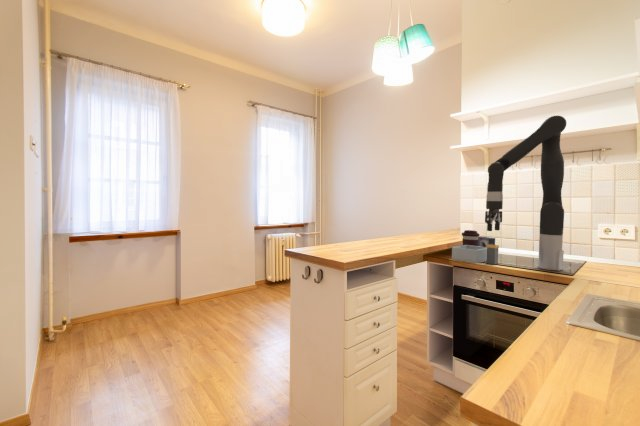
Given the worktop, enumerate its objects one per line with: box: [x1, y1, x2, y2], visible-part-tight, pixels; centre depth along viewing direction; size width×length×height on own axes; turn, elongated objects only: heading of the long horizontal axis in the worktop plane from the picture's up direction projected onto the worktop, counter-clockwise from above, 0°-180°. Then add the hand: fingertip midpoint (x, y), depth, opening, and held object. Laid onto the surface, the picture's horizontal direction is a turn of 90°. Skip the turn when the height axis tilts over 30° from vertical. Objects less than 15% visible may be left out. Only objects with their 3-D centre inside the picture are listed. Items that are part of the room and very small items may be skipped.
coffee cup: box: [461, 229, 480, 246], centre depth 188 cm, size 10×10×15 cm
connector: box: [486, 244, 500, 265], centre depth 161 cm, size 4×4×10 cm
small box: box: [478, 235, 496, 247], centre depth 193 cm, size 11×6×10 cm, turn 25°
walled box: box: [451, 244, 487, 264], centre depth 171 cm, size 14×16×7 cm
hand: (493, 230), depth 161 cm, fingers open, 8 cm apart
